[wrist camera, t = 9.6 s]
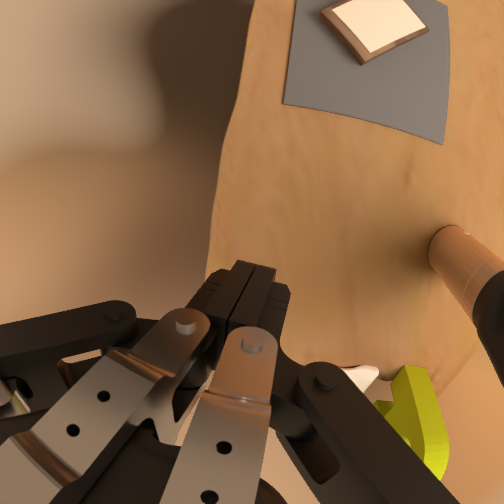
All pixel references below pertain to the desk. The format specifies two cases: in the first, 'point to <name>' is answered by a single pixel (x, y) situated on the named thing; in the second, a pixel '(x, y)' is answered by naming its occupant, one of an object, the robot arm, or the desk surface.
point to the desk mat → (373, 73)
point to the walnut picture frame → (373, 26)
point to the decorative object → (418, 417)
